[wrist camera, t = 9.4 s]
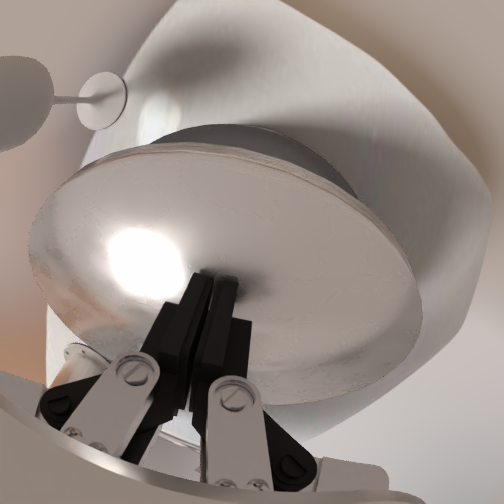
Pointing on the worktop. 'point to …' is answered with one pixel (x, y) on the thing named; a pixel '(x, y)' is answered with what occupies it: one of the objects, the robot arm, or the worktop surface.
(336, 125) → the worktop surface
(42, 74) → the wineglass
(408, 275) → the lid
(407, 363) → the worktop surface
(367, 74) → the worktop surface
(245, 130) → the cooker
